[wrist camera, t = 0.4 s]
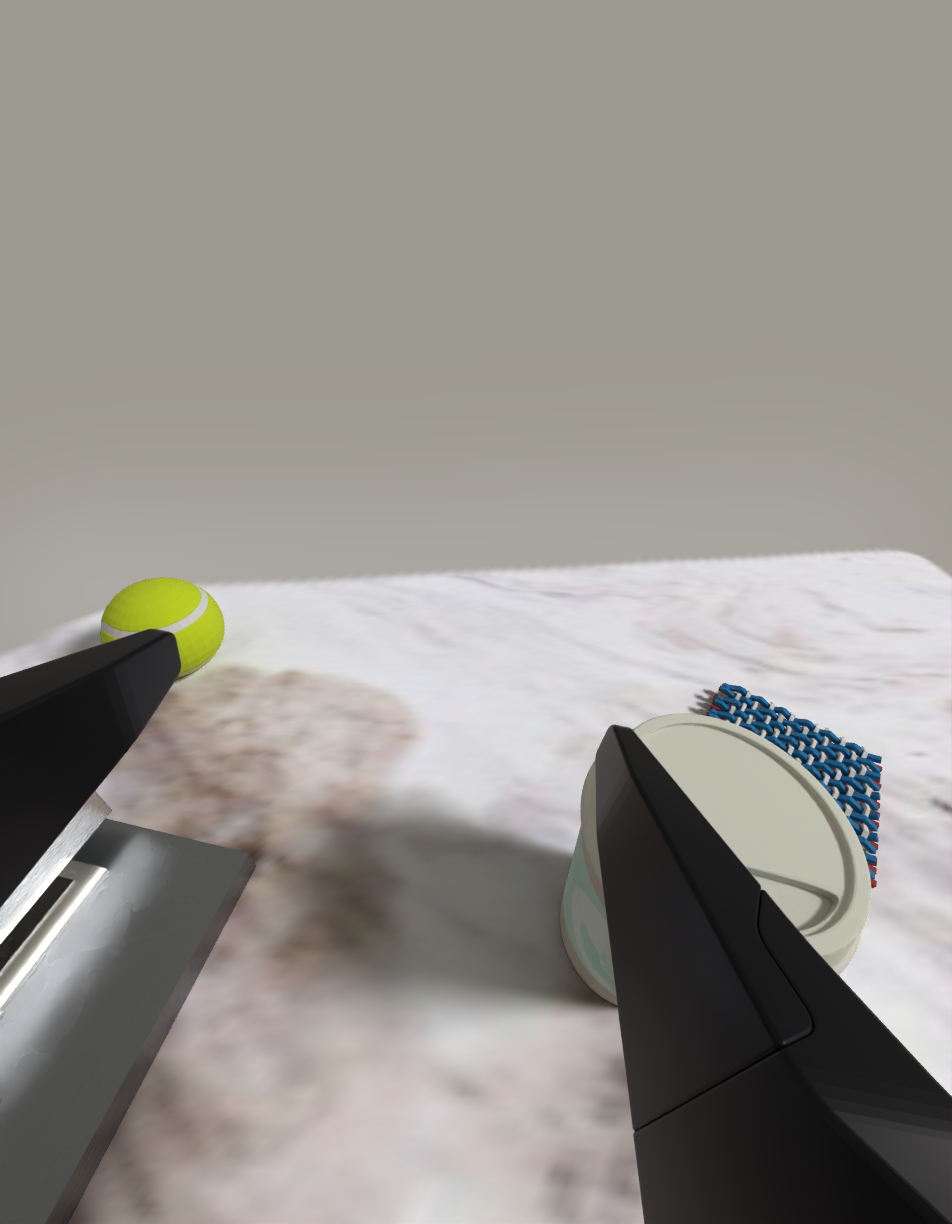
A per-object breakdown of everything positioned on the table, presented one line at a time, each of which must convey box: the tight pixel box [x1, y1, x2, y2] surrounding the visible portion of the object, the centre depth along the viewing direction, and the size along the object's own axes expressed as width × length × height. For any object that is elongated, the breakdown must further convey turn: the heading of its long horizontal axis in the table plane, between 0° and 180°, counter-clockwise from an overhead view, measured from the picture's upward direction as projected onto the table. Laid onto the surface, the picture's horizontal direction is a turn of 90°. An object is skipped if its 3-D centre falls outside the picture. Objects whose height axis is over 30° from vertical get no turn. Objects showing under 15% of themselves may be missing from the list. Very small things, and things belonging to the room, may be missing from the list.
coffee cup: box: [560, 714, 872, 1006], centre depth 18 cm, size 8×8×12 cm
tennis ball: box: [101, 578, 225, 678], centre depth 30 cm, size 7×7×7 cm
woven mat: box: [707, 683, 882, 888], centre depth 29 cm, size 10×11×2 cm
